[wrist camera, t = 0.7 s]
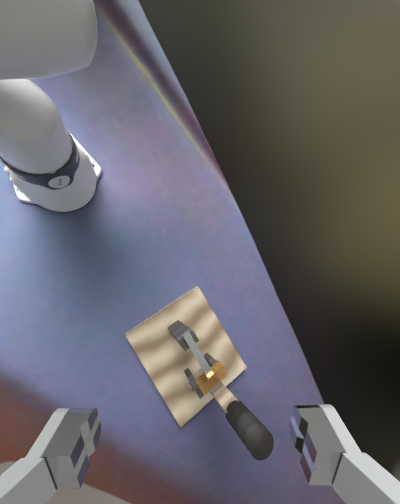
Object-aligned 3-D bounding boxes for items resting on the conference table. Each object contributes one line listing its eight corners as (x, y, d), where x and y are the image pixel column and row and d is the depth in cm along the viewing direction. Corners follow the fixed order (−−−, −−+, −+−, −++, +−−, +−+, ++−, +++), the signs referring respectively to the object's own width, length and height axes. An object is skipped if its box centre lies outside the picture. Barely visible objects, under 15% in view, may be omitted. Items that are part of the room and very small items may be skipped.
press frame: (125, 333, 48) (120, 353, 33) (196, 286, 55) (219, 285, 40) (178, 422, 48) (198, 483, 33) (243, 365, 55) (284, 393, 40)
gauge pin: (171, 340, 36) (173, 344, 34) (195, 323, 38) (199, 325, 35) (200, 388, 36) (204, 395, 34) (222, 369, 38) (228, 374, 35)
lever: (194, 371, 46) (245, 443, 24) (205, 362, 47) (264, 422, 25) (201, 384, 46) (259, 467, 24) (213, 374, 47) (277, 445, 25)
